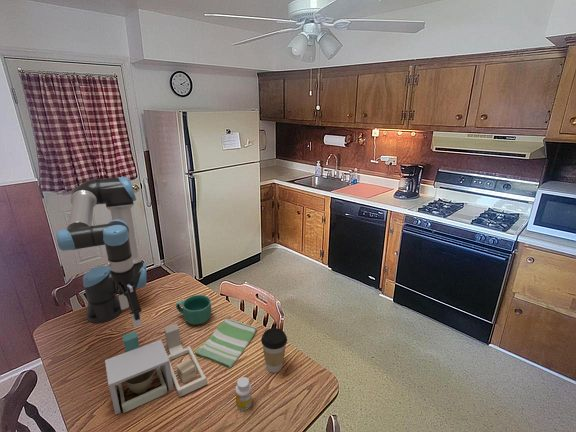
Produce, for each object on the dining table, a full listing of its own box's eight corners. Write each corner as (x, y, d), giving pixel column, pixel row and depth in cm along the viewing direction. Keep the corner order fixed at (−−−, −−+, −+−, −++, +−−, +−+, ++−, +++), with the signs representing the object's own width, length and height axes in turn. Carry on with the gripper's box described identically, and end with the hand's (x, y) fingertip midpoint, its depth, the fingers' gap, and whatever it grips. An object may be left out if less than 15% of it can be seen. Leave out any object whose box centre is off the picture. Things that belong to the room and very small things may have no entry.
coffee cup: (290, 360, 125) (290, 330, 120) (281, 379, 116) (281, 348, 111) (267, 354, 128) (267, 324, 123) (257, 372, 119) (256, 341, 114)
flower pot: (146, 402, 107) (143, 386, 104) (120, 396, 109) (116, 381, 106) (162, 378, 116) (160, 363, 114) (138, 374, 118) (135, 359, 115)
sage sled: (113, 358, 124) (109, 339, 121) (150, 344, 132) (147, 326, 129) (123, 413, 103) (118, 392, 100) (167, 392, 110) (164, 373, 107)
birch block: (177, 375, 118) (176, 365, 116) (189, 368, 121) (188, 358, 119) (183, 383, 114) (182, 373, 112) (196, 376, 117) (195, 366, 116)
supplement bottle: (236, 396, 109) (235, 375, 106) (252, 395, 110) (251, 374, 107) (235, 411, 104) (234, 389, 101) (251, 410, 105) (251, 388, 102)
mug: (216, 313, 152) (215, 297, 149) (203, 330, 141) (201, 313, 138) (186, 307, 156) (184, 291, 153) (171, 323, 145) (169, 306, 142)
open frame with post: (160, 347, 130) (157, 329, 127) (184, 338, 136) (182, 321, 132) (179, 397, 108) (176, 377, 105) (207, 384, 114) (205, 365, 111)
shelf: (111, 388, 112) (104, 360, 107) (165, 366, 121) (161, 339, 117) (115, 414, 102) (108, 385, 98) (173, 388, 112) (169, 360, 108)
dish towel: (193, 355, 127) (192, 350, 127) (225, 321, 148) (225, 316, 147) (230, 369, 121) (230, 364, 120) (258, 331, 141) (258, 326, 140)
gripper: (100, 258, 117) (110, 305, 125) (122, 286, 101) (132, 338, 108) (121, 252, 122) (129, 297, 130) (146, 278, 105) (154, 328, 113)
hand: (131, 316), depth 119 cm, fingers open, 13 cm apart
